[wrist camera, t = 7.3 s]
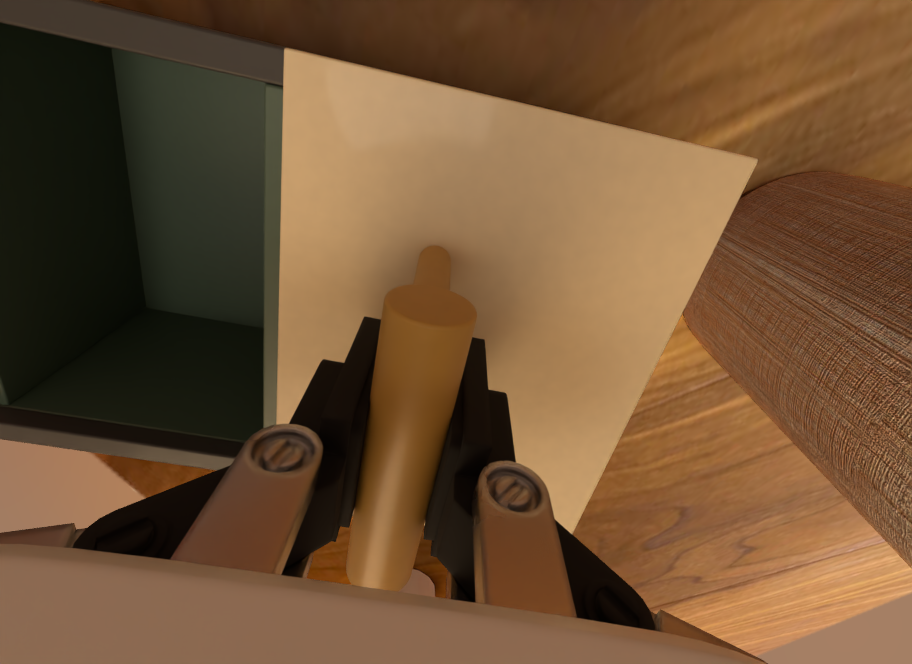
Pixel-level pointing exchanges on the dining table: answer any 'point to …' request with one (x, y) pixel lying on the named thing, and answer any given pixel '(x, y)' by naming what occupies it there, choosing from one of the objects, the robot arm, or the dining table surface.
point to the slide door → (480, 275)
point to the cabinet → (138, 232)
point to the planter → (823, 330)
